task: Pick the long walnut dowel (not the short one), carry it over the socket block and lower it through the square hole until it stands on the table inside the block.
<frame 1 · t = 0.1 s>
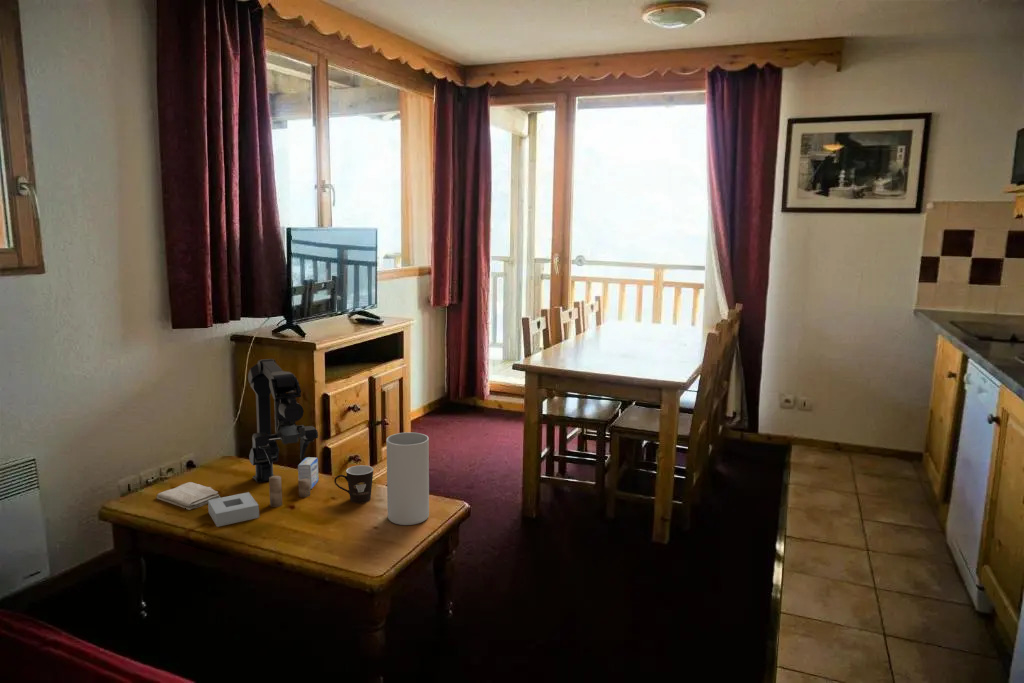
hand: (286, 462, 212), 14 cm above the table, fingers open, 9 cm apart
long dowel: (276, 504, 215), on the table
socket block: (233, 515, 207), on the table
medicine box: (308, 485, 232), on the table
cylinder vase: (408, 518, 207), on the table
short dowel: (304, 495, 223), on the table
washcloth: (189, 500, 219), on the table
coffee mug: (356, 499, 221), on the table
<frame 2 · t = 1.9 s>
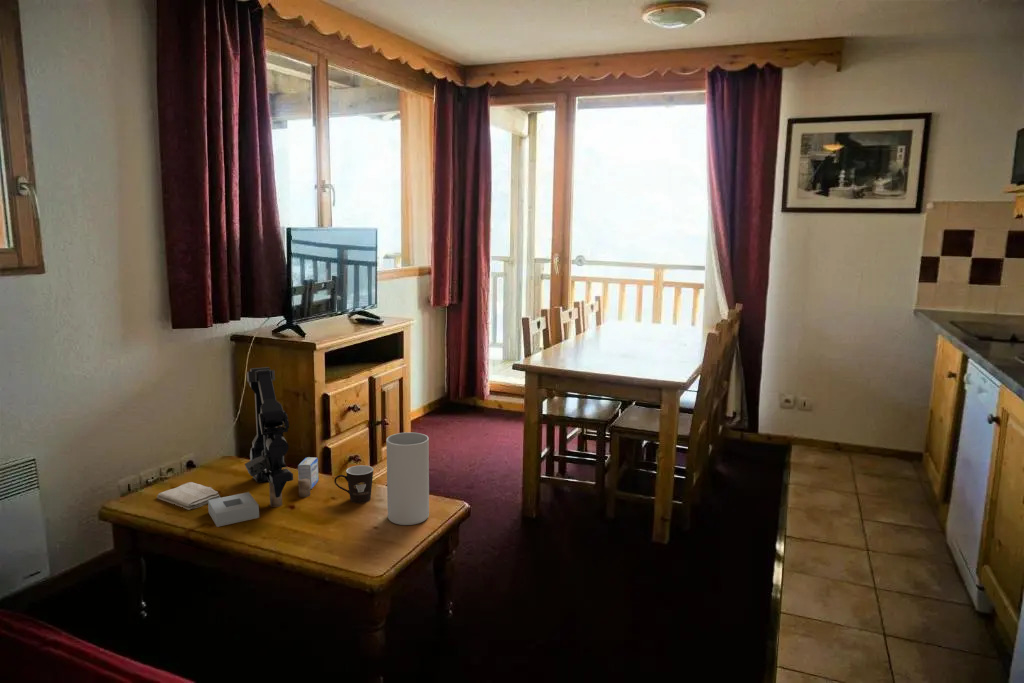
hand: (275, 495, 215), 3 cm above the table, fingers closed on long dowel, 4 cm apart
long dowel: (276, 504, 215), on the table, touching gripper
everything else where it was.
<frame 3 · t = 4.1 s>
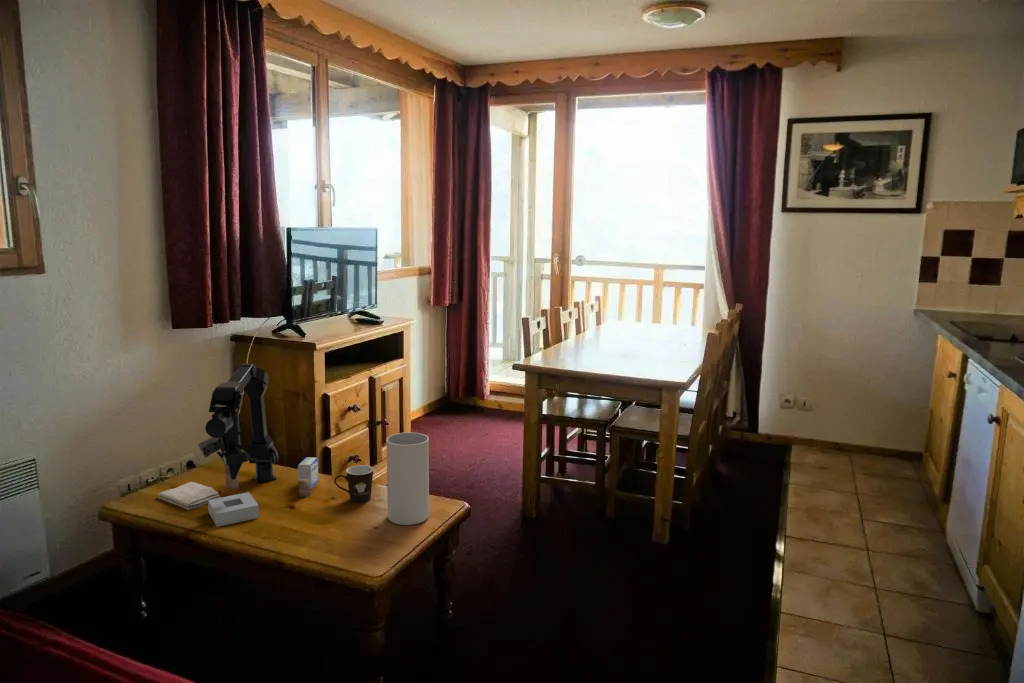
hand: (231, 477, 205), 12 cm above the table, fingers closed on long dowel, 4 cm apart
long dowel: (232, 487, 206), point 9 cm above the table, touching gripper
everything else where it was.
when the fingers open (4 cm above the table, at t = 6.4 s): long dowel drops 1 cm, resting in socket block.
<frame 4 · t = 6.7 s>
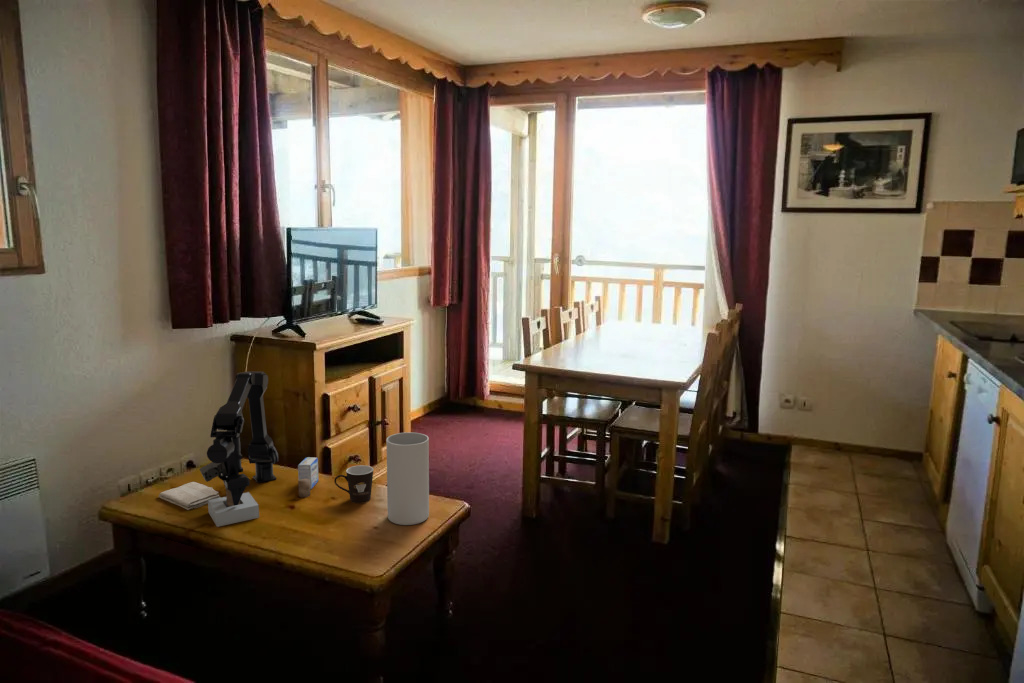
hand: (233, 501, 206), 4 cm above the table, fingers open, 7 cm apart
long dowel: (233, 515, 207), resting in socket block
everything else where it was.
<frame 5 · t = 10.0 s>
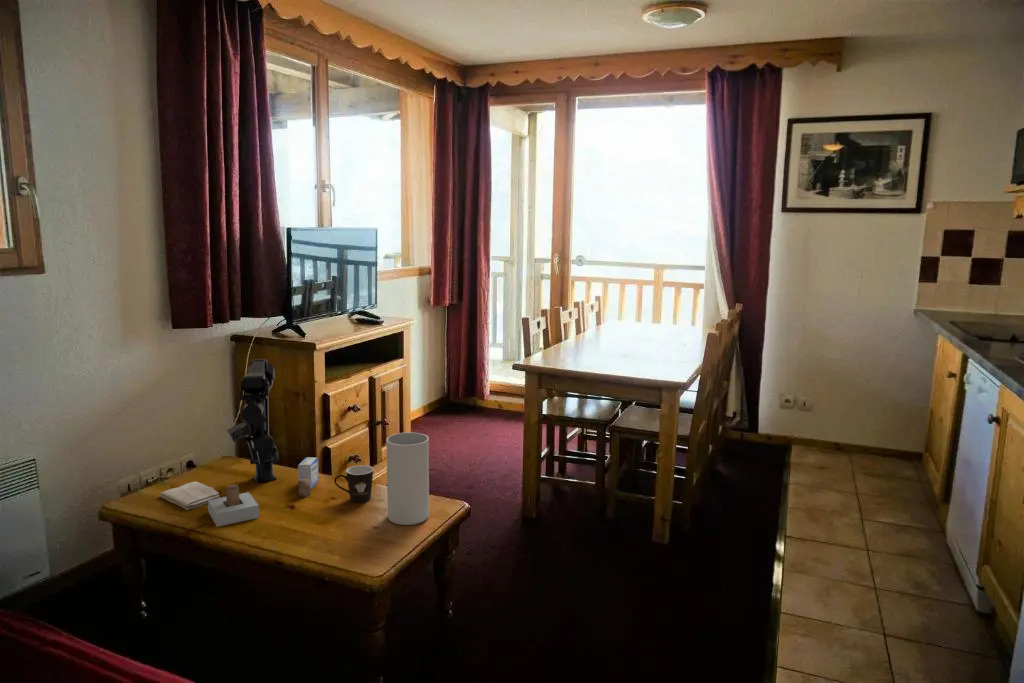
hand: (258, 461, 218), 13 cm above the table, fingers open, 9 cm apart
nothing on the table moved.
at the end: long dowel 0.0 cm off-centre on the socket block, point 0.0 cm above the socket block's base; long dowel tilted 0°; the gripper is holding nothing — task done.
